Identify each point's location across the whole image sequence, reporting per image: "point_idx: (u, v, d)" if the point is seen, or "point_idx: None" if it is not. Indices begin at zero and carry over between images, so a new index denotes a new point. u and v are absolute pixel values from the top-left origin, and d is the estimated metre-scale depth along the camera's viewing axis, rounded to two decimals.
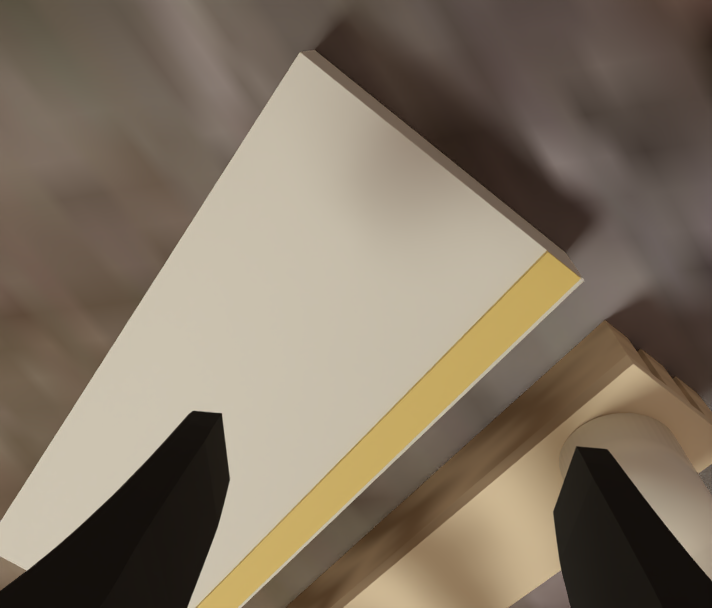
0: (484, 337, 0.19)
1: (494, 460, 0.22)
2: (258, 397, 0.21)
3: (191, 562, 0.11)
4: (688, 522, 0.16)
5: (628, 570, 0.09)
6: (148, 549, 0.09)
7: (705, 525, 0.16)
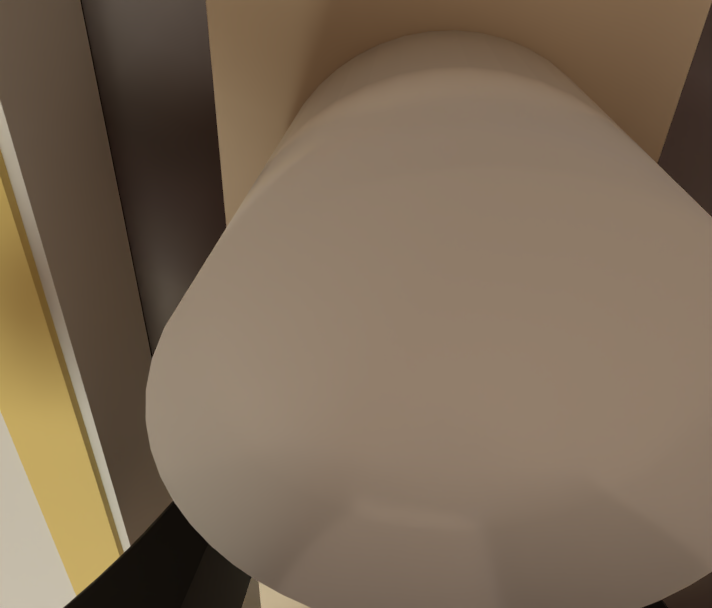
0: None
1: None
2: None
3: None
4: (410, 296, 0.03)
5: None
6: (212, 555, 0.09)
7: (494, 263, 0.03)
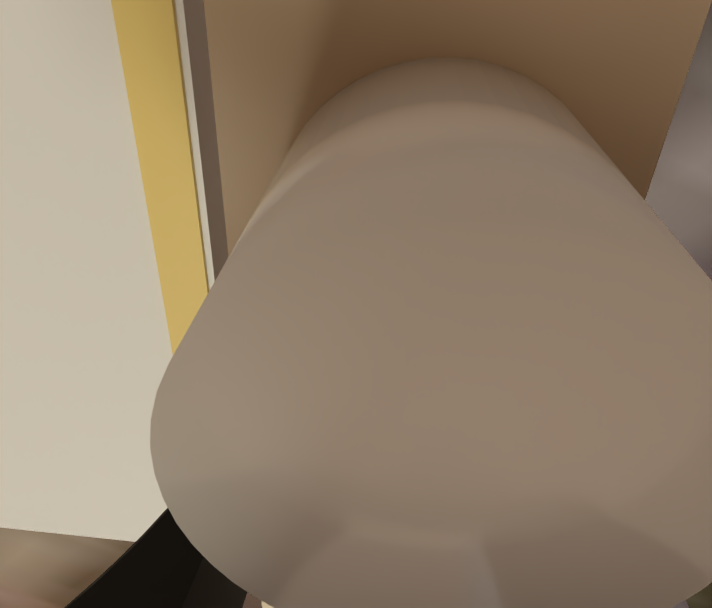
0: None
1: None
2: (11, 205, 0.16)
3: None
4: (404, 335, 0.03)
5: None
6: None
7: (484, 308, 0.03)
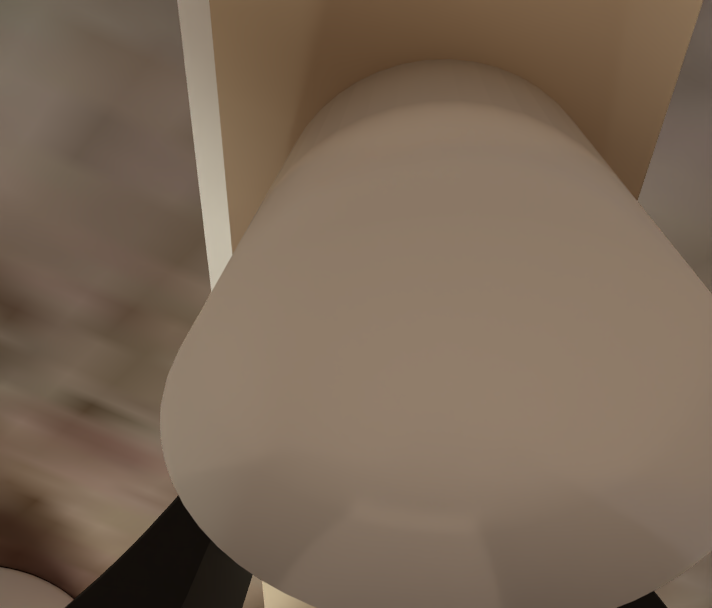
0: None
1: None
2: None
3: None
4: (401, 323, 0.03)
5: None
6: (213, 555, 0.09)
7: (475, 296, 0.03)
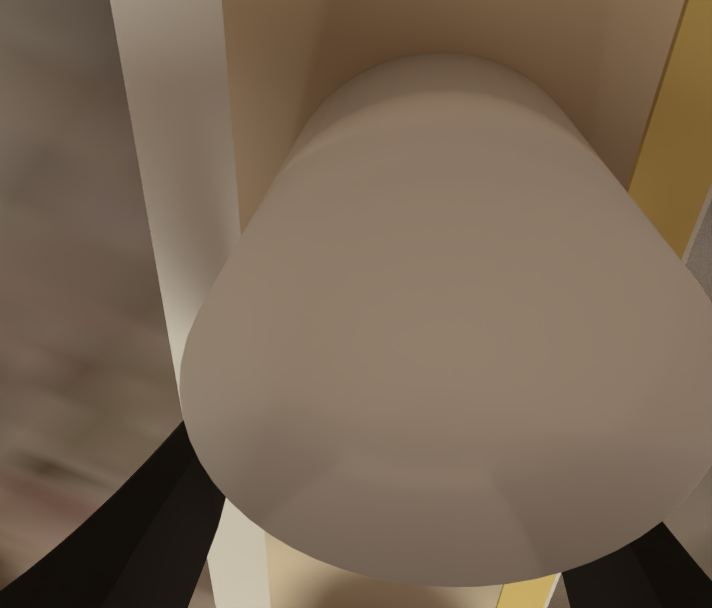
0: None
1: None
2: None
3: (191, 562, 0.11)
4: (398, 285, 0.04)
5: (628, 570, 0.09)
6: (148, 549, 0.09)
7: (466, 258, 0.03)
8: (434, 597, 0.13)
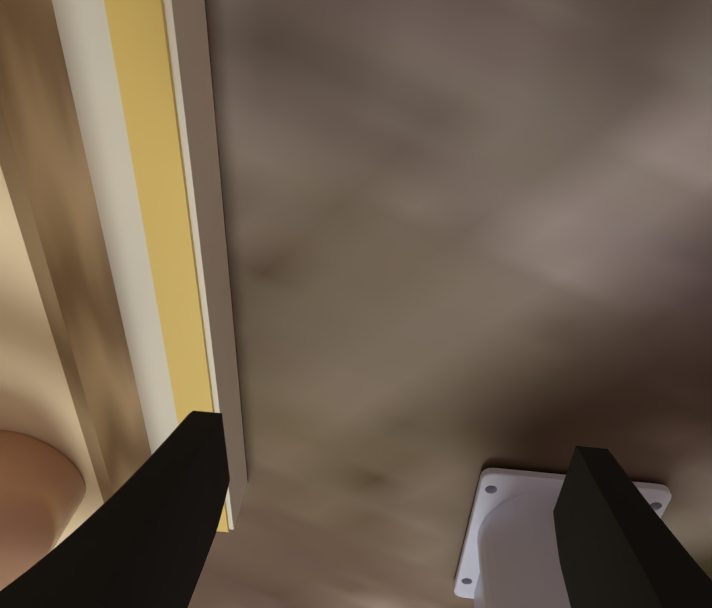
0: None
1: None
2: None
3: (191, 562, 0.11)
4: None
5: (628, 570, 0.09)
6: (148, 548, 0.09)
7: None
8: (30, 404, 0.17)
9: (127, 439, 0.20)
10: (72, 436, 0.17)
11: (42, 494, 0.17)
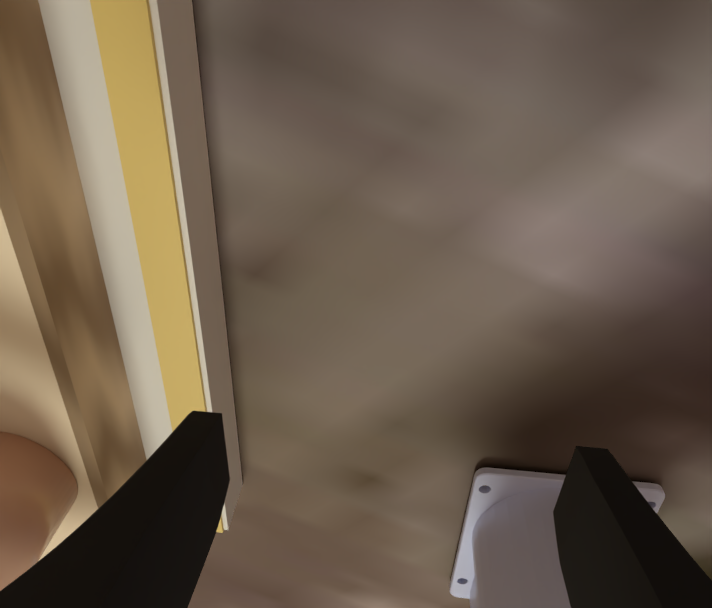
0: None
1: None
2: None
3: (190, 562, 0.11)
4: None
5: (628, 570, 0.09)
6: (148, 548, 0.09)
7: None
8: (21, 405, 0.17)
9: (120, 440, 0.21)
10: (64, 437, 0.18)
11: (35, 495, 0.17)
